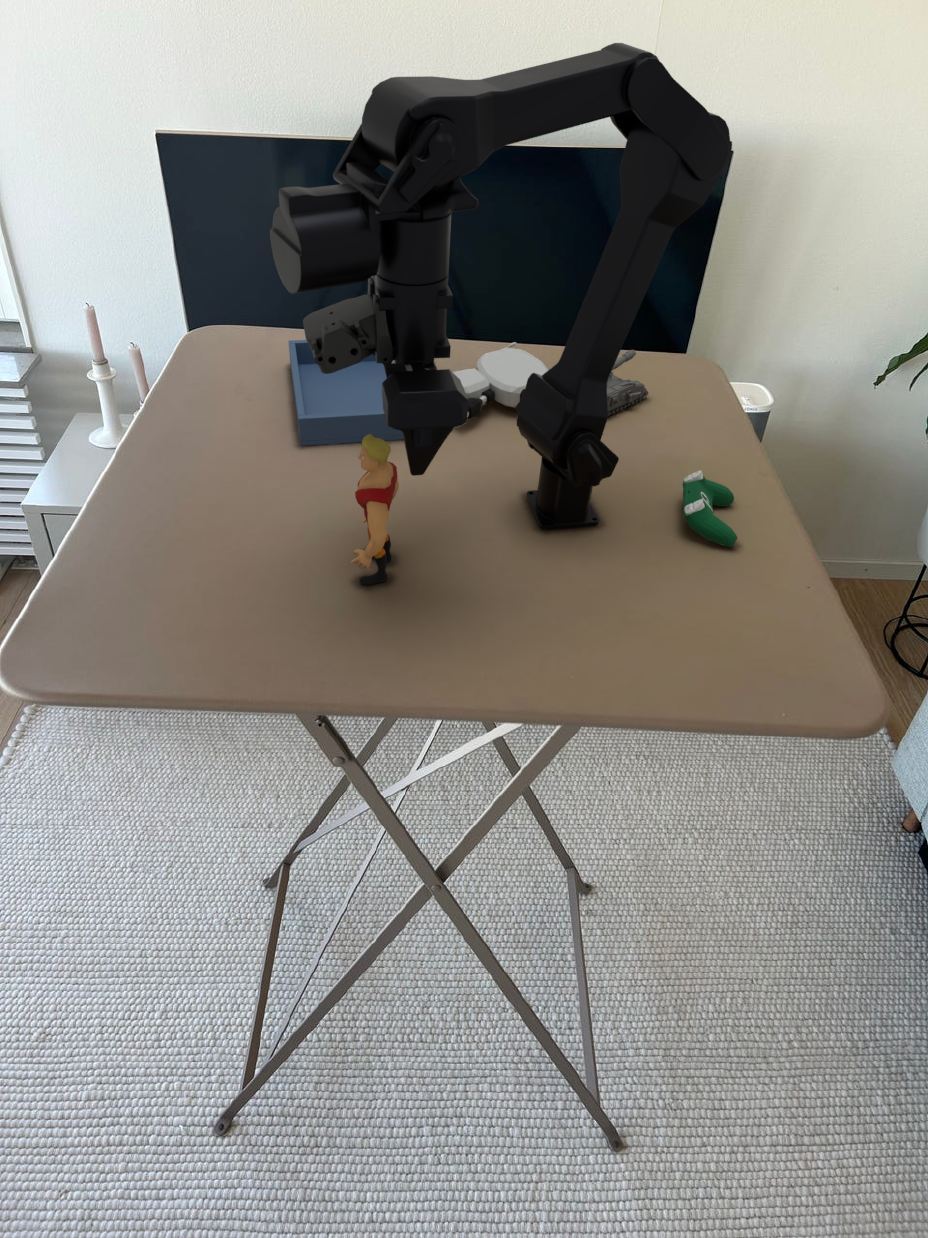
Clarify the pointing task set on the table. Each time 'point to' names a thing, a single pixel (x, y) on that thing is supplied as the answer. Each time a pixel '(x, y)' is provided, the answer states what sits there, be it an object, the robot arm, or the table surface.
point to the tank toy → (623, 388)
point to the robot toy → (499, 378)
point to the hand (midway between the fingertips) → (408, 445)
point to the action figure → (376, 505)
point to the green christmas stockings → (707, 508)
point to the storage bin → (338, 400)
